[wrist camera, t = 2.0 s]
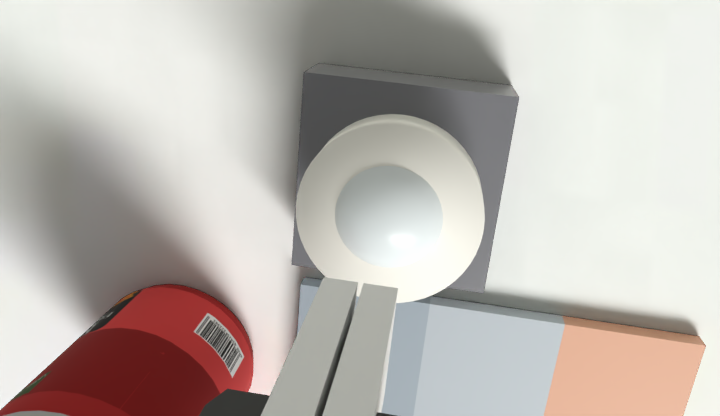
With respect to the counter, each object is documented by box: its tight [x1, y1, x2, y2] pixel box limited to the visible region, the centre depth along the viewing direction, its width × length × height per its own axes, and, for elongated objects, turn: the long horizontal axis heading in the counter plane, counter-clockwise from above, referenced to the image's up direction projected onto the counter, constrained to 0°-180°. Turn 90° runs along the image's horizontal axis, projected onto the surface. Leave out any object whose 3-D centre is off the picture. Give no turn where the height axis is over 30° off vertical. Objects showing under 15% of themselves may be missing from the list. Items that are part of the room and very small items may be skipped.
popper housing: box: [292, 63, 519, 293], centre depth 26 cm, size 8×8×3 cm
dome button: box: [296, 114, 485, 303], centre depth 23 cm, size 6×6×6 cm
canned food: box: [0, 284, 253, 416], centre depth 27 cm, size 8×8×11 cm
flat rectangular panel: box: [297, 277, 706, 416], centre depth 30 cm, size 18×10×1 cm, turn 85°
